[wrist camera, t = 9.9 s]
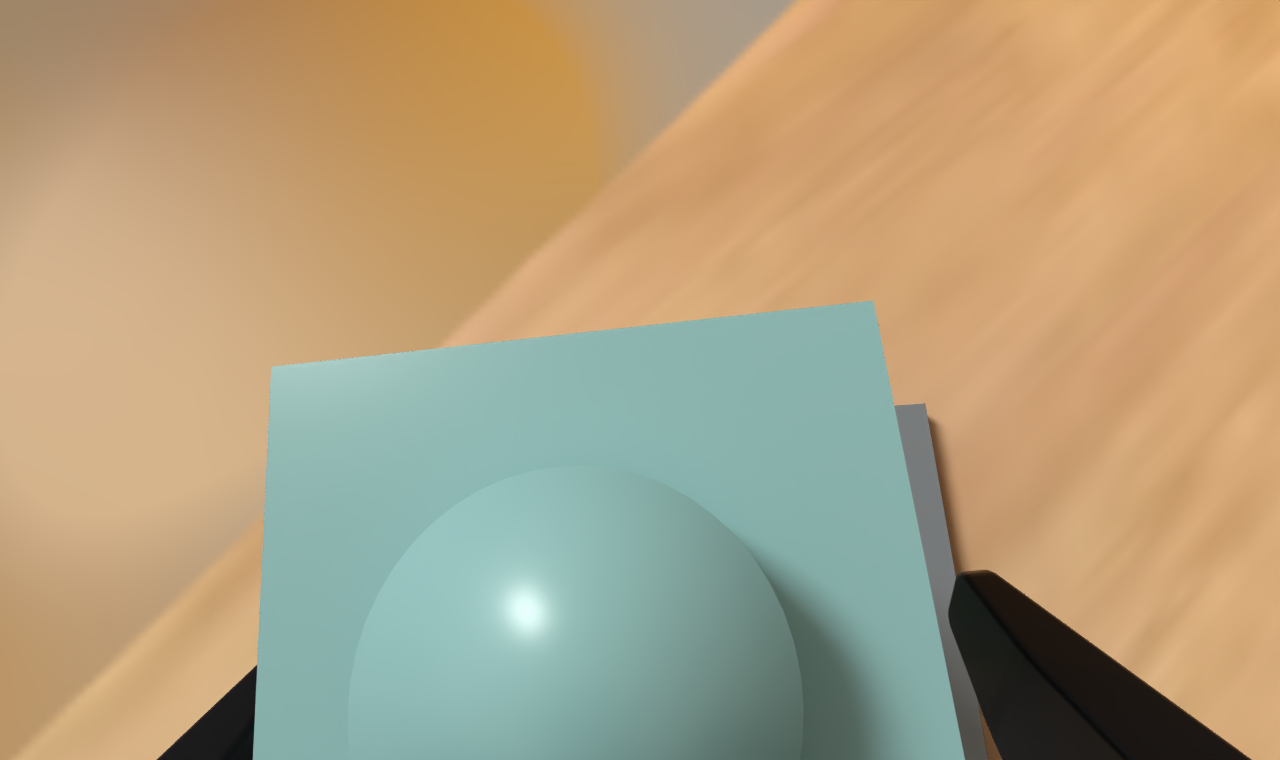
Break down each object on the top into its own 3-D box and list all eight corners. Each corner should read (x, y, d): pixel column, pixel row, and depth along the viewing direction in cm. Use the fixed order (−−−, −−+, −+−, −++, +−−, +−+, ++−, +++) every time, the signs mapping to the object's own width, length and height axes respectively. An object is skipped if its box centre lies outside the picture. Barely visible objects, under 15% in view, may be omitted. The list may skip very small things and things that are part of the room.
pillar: (746, 634, 16) (1131, 1220, 3) (578, 649, 16) (111, 1287, 3) (724, 464, 17) (916, 251, 4) (567, 480, 17) (186, 333, 4)
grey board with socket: (1030, 1076, 16) (1146, 1256, 12) (507, 1092, 16) (456, 1269, 13) (915, 408, 20) (973, 380, 16) (500, 437, 21) (460, 418, 17)
